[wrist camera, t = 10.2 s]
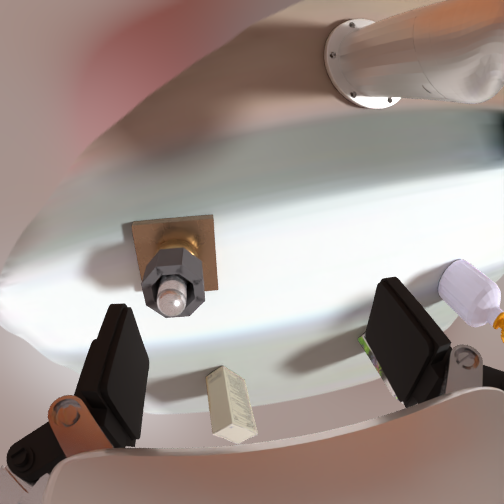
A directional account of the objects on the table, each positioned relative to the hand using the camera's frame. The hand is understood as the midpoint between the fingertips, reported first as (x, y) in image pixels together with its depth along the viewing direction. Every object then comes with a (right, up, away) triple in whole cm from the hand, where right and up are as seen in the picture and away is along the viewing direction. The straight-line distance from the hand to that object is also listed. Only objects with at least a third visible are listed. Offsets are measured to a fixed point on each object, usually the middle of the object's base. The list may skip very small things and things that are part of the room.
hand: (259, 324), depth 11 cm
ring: (-9, 0, +23) cm, 25 cm away
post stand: (-10, +2, +28) cm, 30 cm away
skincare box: (-5, -20, +40) cm, 44 cm away
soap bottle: (+39, -3, +39) cm, 56 cm away
